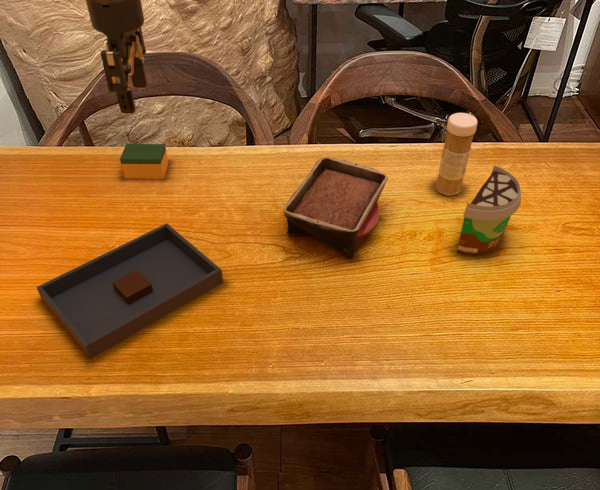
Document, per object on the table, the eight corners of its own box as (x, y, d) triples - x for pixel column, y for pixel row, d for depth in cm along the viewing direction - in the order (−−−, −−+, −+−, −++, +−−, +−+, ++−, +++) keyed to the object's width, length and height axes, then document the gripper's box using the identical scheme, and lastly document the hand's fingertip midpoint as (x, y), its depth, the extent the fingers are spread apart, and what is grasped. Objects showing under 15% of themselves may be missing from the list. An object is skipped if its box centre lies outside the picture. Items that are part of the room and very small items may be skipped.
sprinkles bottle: (444, 178, 104) (458, 108, 95) (466, 189, 102) (483, 118, 92) (429, 189, 102) (443, 118, 92) (451, 200, 100) (468, 129, 90)
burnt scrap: (128, 305, 82) (126, 297, 81) (114, 290, 84) (111, 282, 83) (153, 291, 84) (151, 284, 83) (138, 277, 86) (136, 269, 85)
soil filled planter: (393, 223, 99) (399, 167, 93) (350, 275, 86) (354, 213, 80) (316, 205, 104) (317, 151, 98) (265, 250, 91) (263, 191, 85)
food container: (491, 272, 87) (508, 219, 80) (452, 258, 89) (466, 205, 82) (517, 228, 94) (535, 175, 87) (480, 215, 97) (495, 163, 90)
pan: (91, 361, 76) (85, 346, 73) (43, 302, 83) (35, 287, 81) (223, 285, 85) (221, 269, 83) (169, 238, 93) (166, 222, 91)
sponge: (124, 178, 104) (119, 158, 101) (130, 162, 108) (126, 143, 105) (163, 178, 104) (159, 159, 101) (168, 163, 108) (165, 144, 105)
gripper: (98, -26, 88) (122, 78, 99) (69, 9, 78) (99, 121, 89) (148, -26, 87) (166, 79, 99) (126, 10, 77) (148, 122, 89)
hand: (134, 99), depth 94 cm, fingers open, 8 cm apart
